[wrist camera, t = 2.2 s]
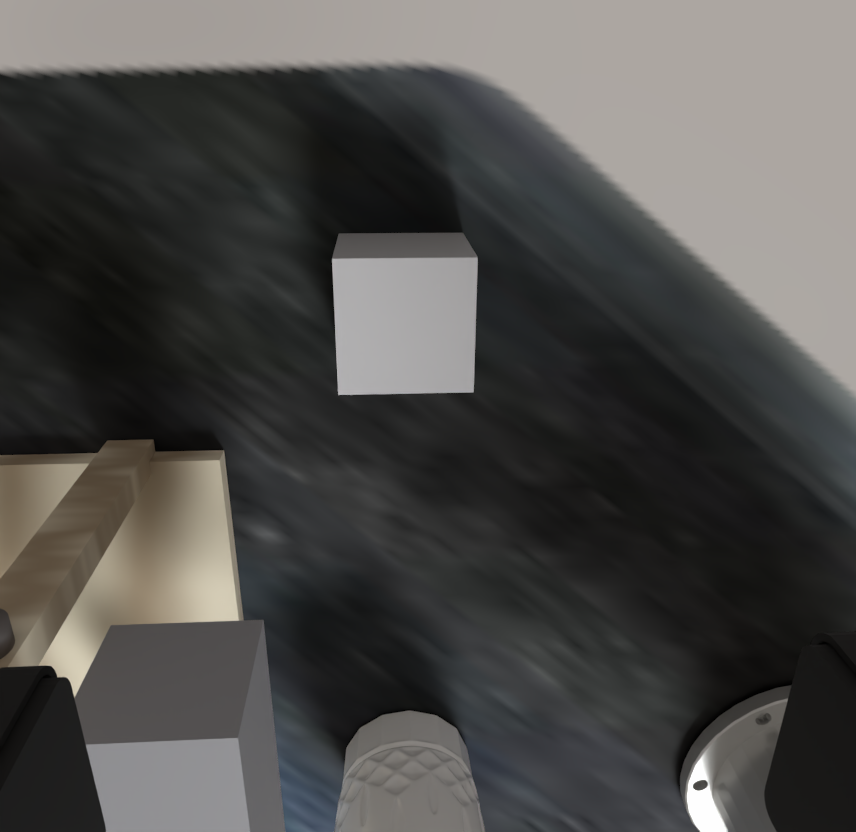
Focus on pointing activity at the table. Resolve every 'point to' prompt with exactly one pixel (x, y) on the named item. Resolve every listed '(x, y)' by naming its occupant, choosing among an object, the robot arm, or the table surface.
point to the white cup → (408, 778)
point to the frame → (110, 549)
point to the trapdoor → (183, 728)
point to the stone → (404, 313)
